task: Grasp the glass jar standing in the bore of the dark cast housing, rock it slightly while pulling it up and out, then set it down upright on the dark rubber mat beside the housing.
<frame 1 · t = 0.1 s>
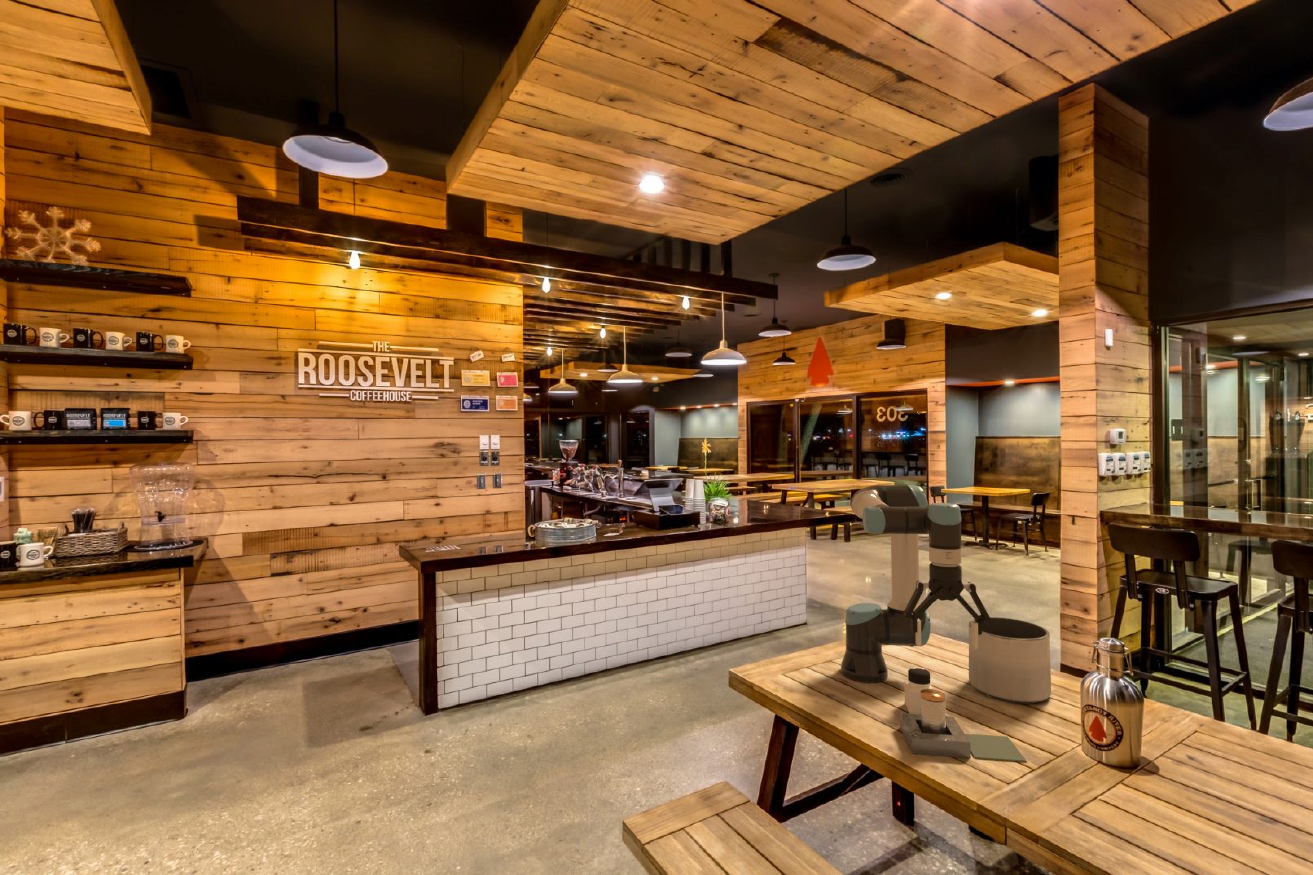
hand: (946, 646, 155), 28 cm above the table, fingers open, 13 cm apart
glass jar: (933, 717, 160), in the housing
medicine bottle: (919, 710, 179), on the table
housing: (933, 742, 160), on the table
planter: (1008, 690, 191), on the table
mat: (991, 748, 157), on the table
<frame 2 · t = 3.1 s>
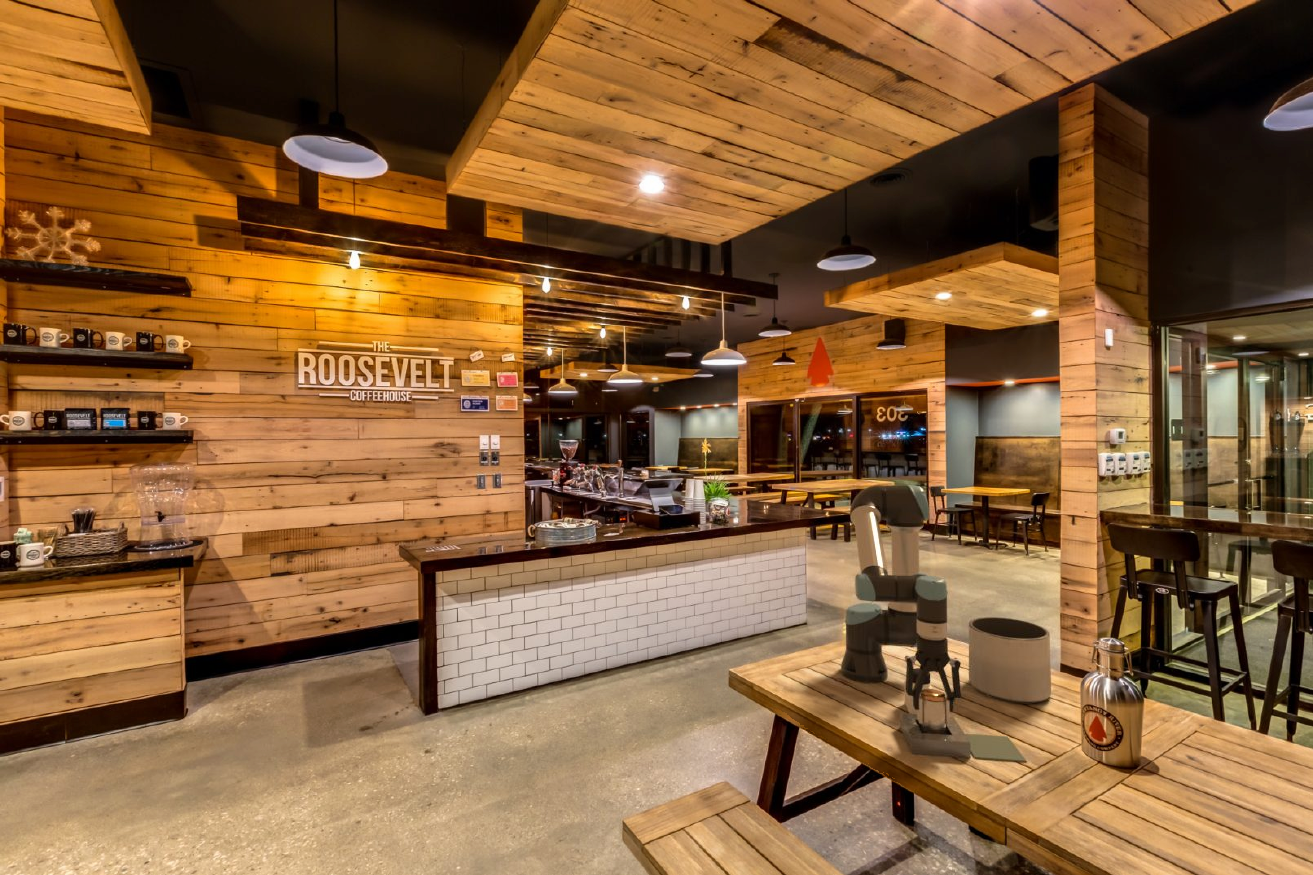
hand: (933, 721, 160), 5 cm above the table, fingers closed on glass jar, 6 cm apart
glass jar: (933, 717, 160), in the housing, touching gripper
everything else where it was.
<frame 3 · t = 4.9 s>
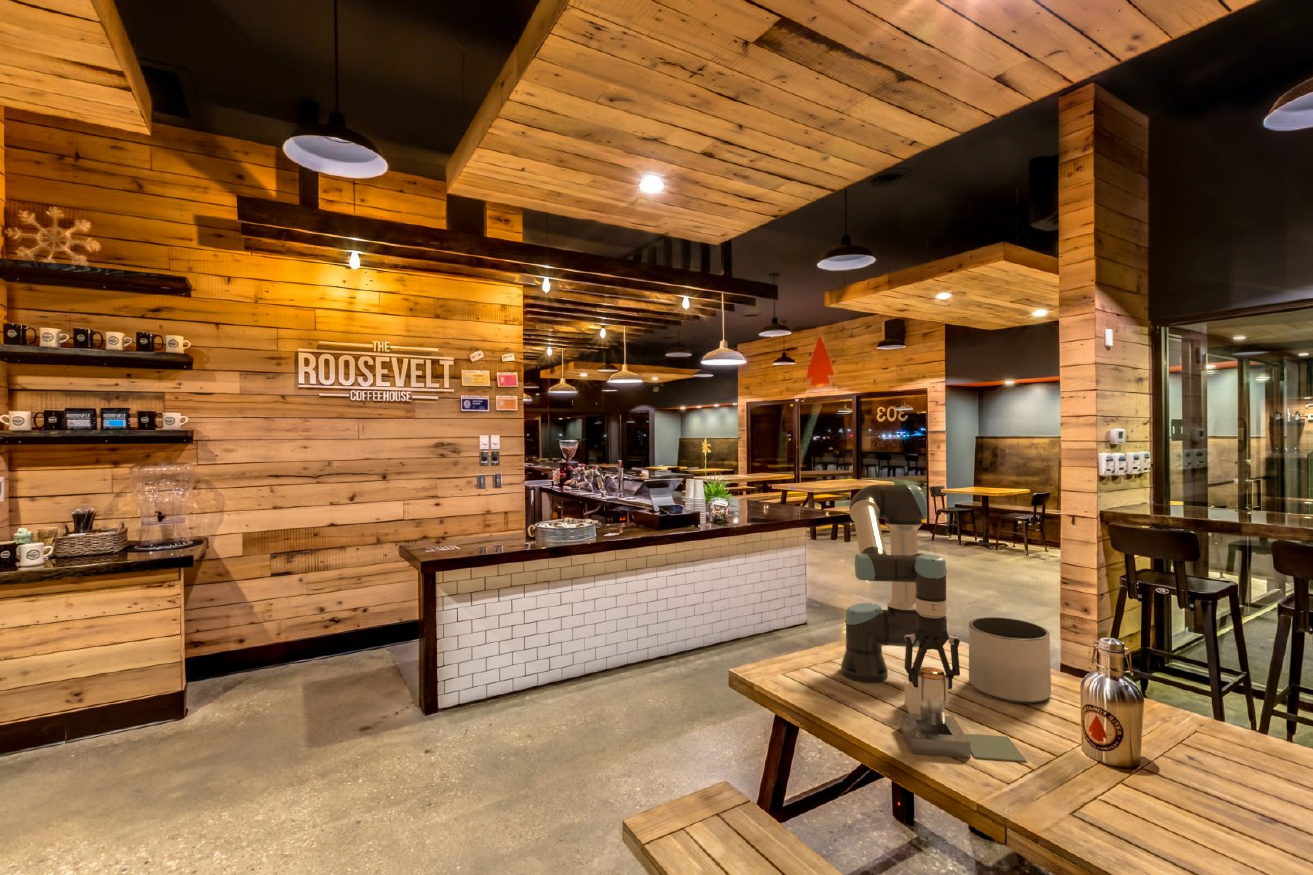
hand: (932, 699, 161), 11 cm above the table, fingers closed on glass jar, 6 cm apart
glass jar: (932, 695, 161), point 12 cm above the table, touching gripper
everything else where it was.
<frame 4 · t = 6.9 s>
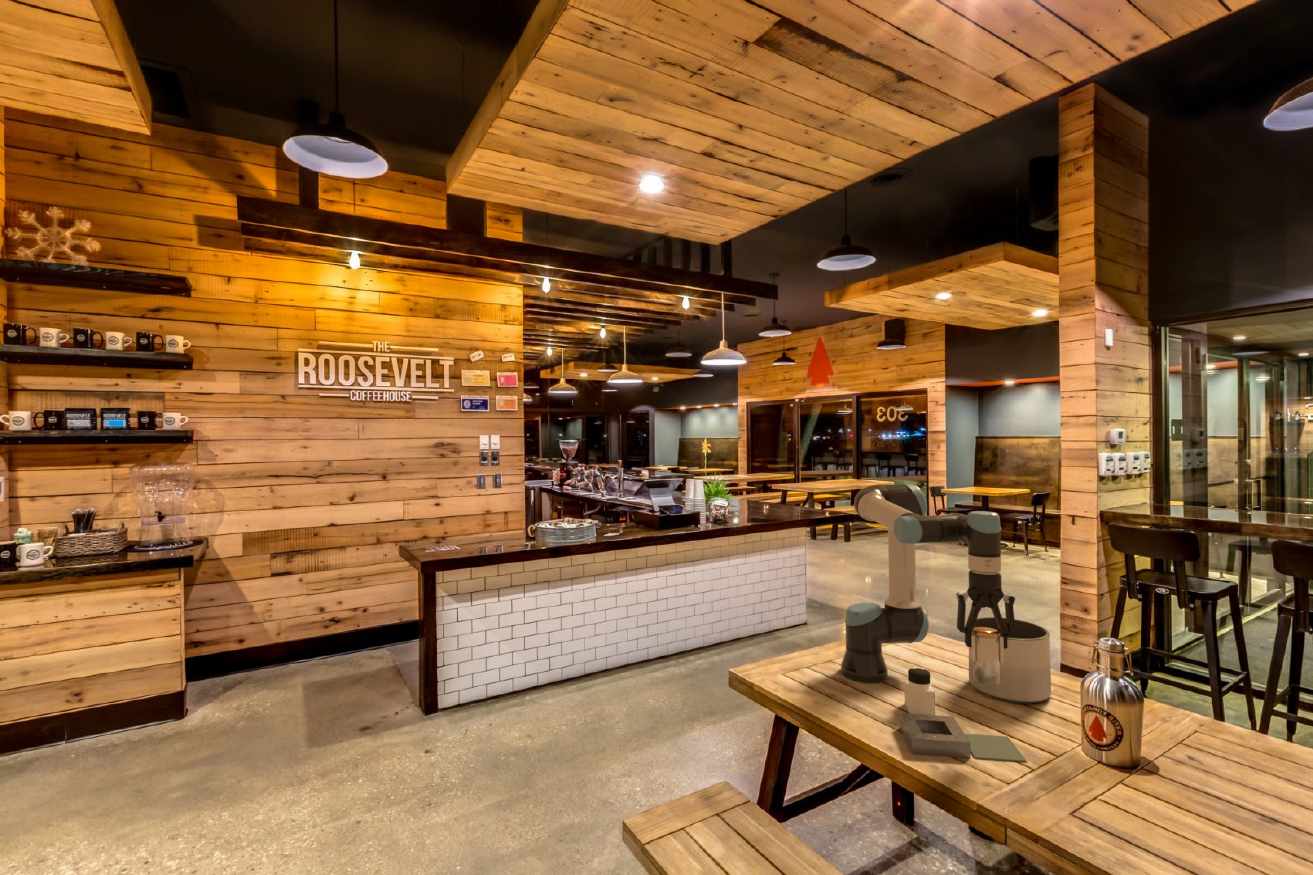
hand: (986, 659, 157), 23 cm above the table, fingers closed on glass jar, 6 cm apart
glass jar: (986, 655, 156), point 24 cm above the table, touching gripper
everything else where it was.
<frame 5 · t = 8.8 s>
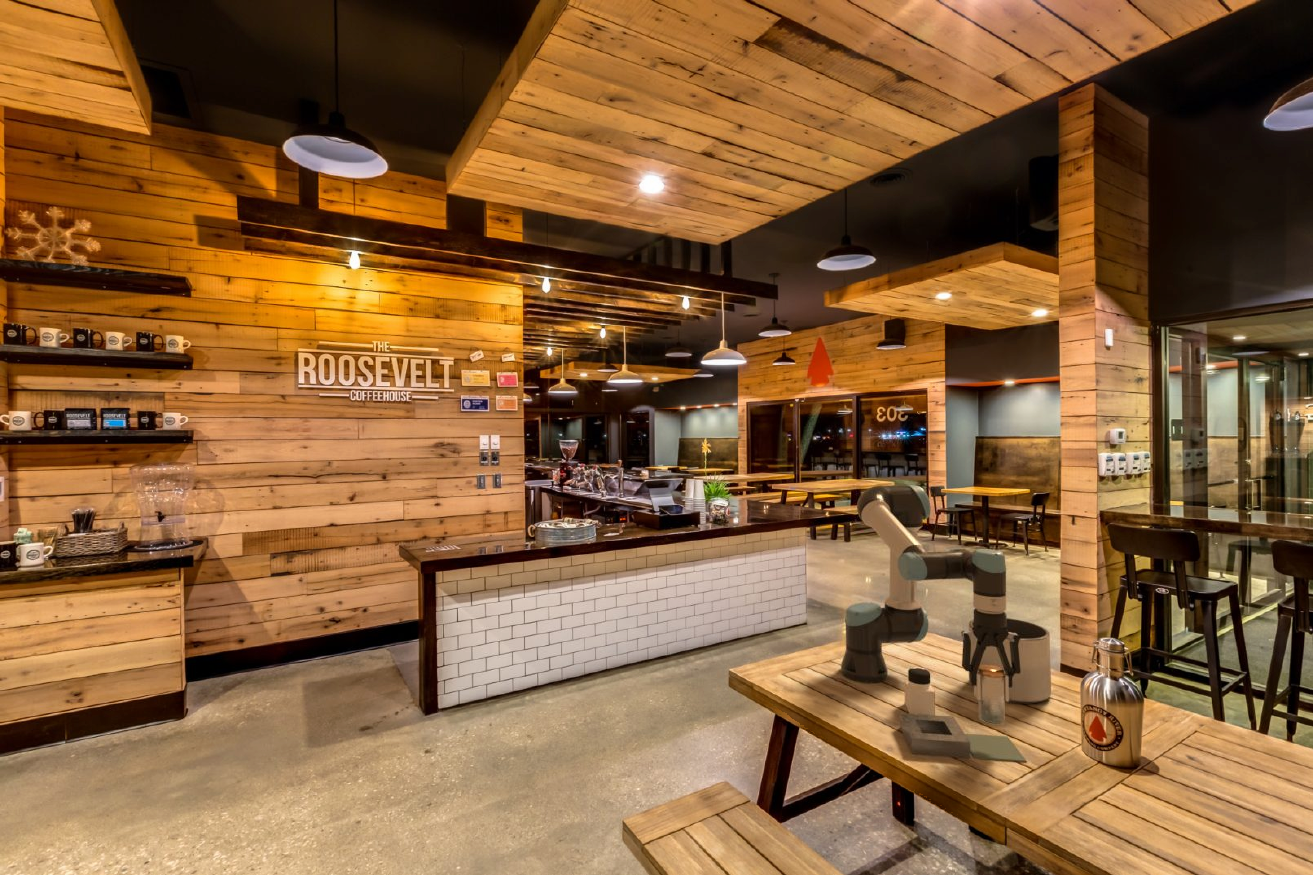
hand: (991, 698, 157), 13 cm above the table, fingers closed on glass jar, 6 cm apart
glass jar: (991, 694, 156), point 14 cm above the table, touching gripper
everything else where it was.
when the fingers open (7 cm above the table, at t = 10.7 s): glass jar drops 1 cm, resting on mat.
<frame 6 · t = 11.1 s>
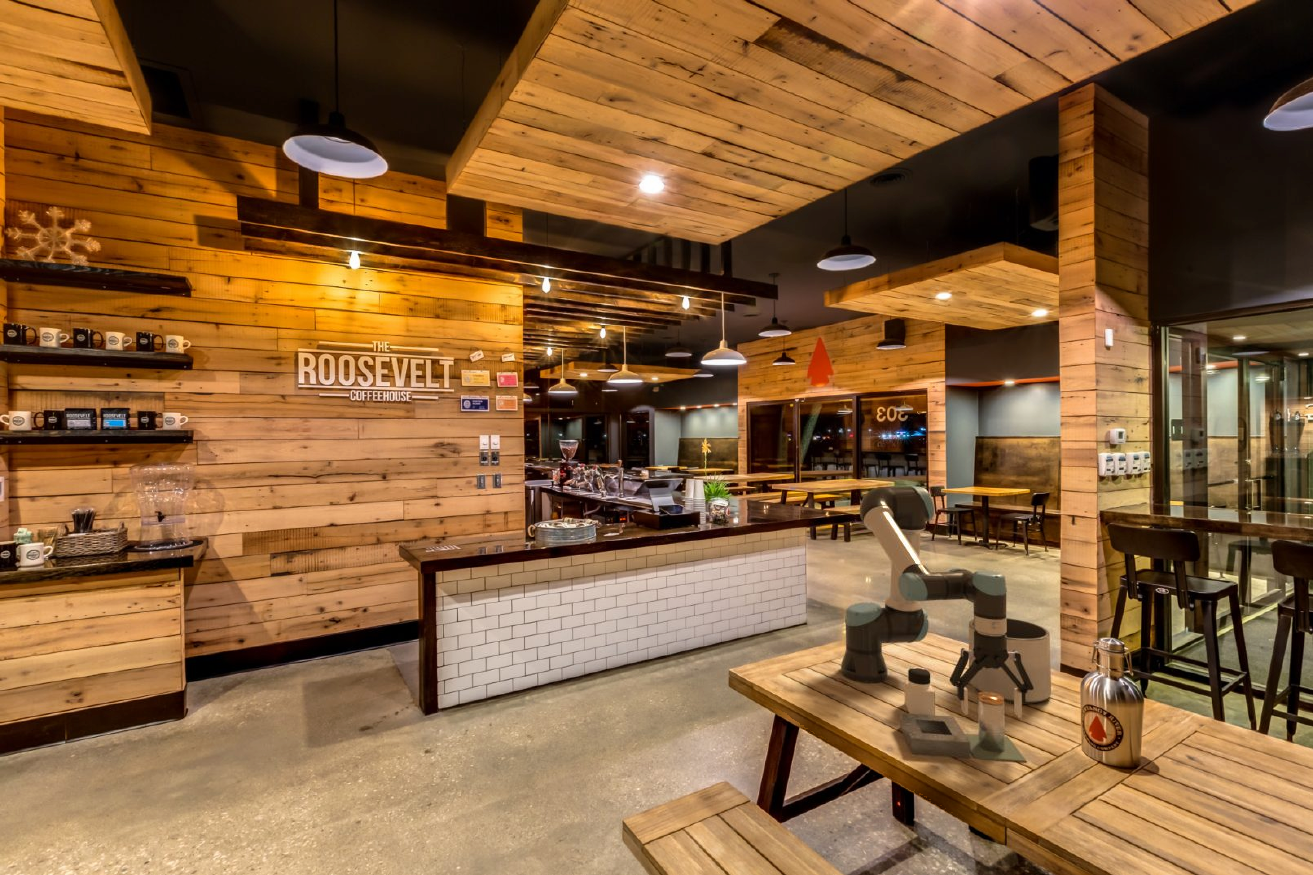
hand: (991, 714, 157), 9 cm above the table, fingers open, 12 cm apart
glass jar: (991, 721, 157), on the mat
everything else where it was.
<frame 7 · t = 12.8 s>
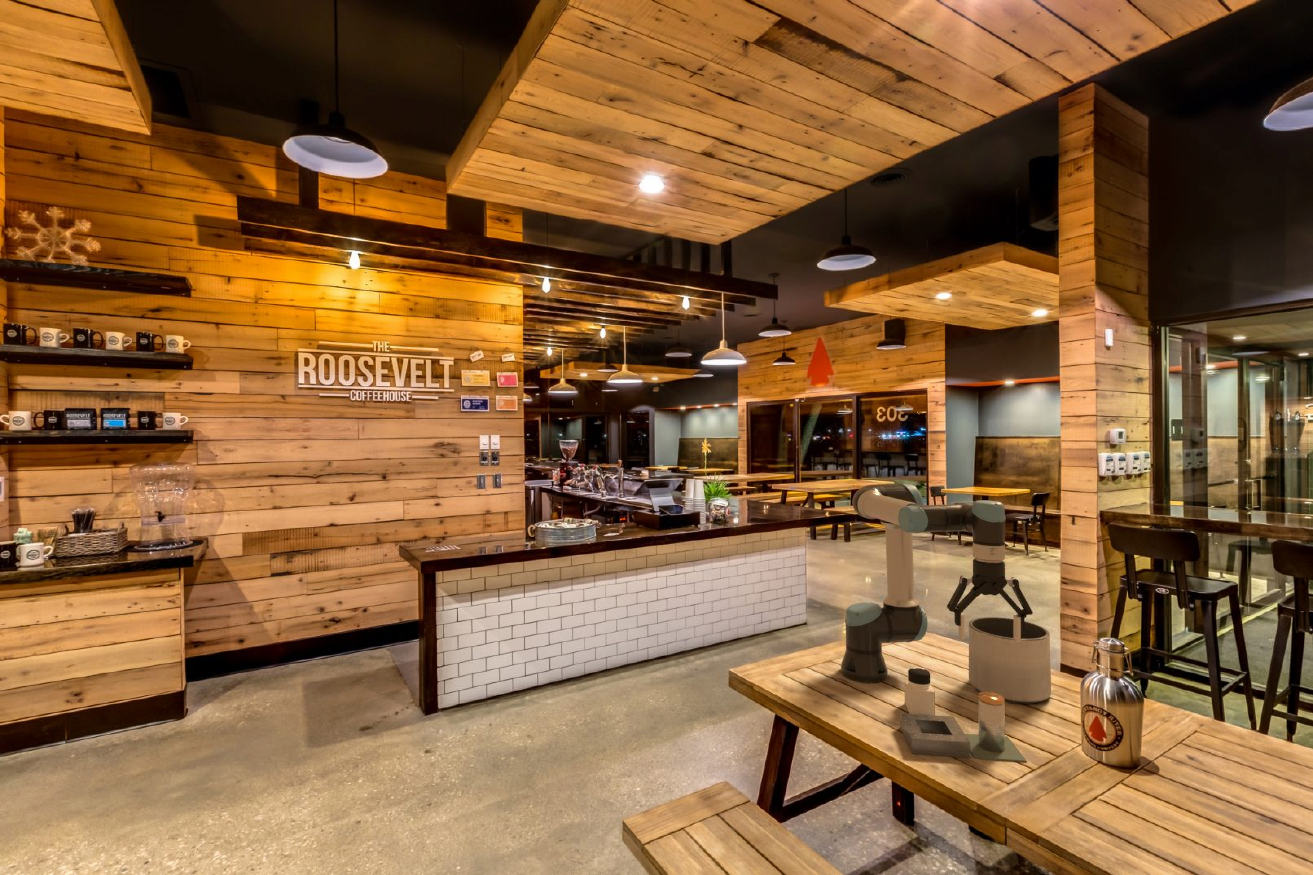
hand: (989, 639, 160), 28 cm above the table, fingers open, 13 cm apart
nothing on the table moved.
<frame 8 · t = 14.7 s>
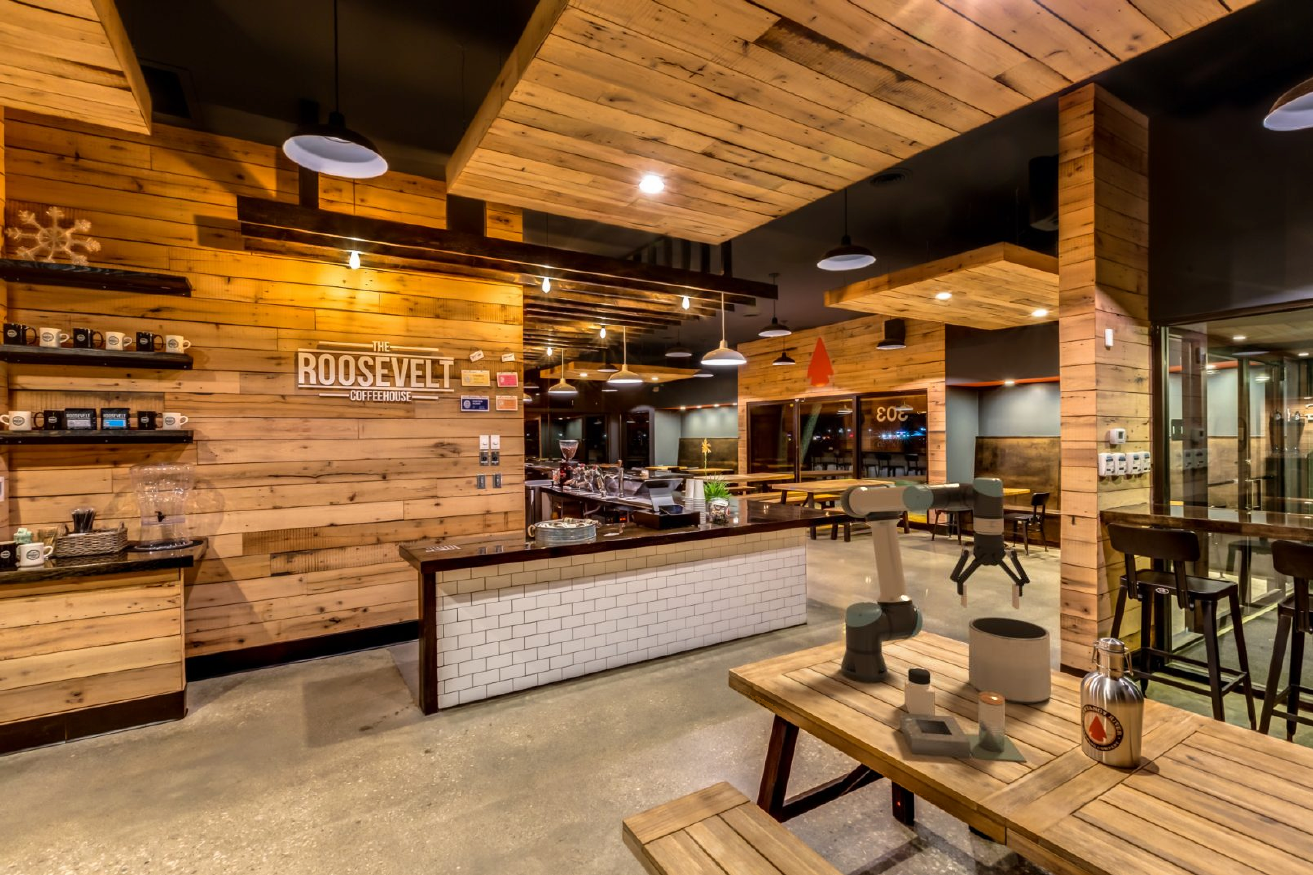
hand: (989, 607, 170), 33 cm above the table, fingers open, 13 cm apart
nothing on the table moved.
at the end: glass jar inside the target area on the mat (0.0 cm from its centre), point 6.9 cm above the mat's base; glass jar tilted 1°; glass jar touching mat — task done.
